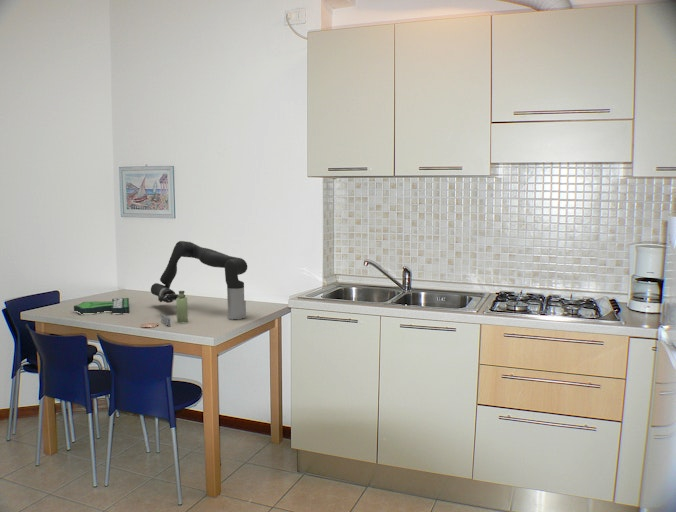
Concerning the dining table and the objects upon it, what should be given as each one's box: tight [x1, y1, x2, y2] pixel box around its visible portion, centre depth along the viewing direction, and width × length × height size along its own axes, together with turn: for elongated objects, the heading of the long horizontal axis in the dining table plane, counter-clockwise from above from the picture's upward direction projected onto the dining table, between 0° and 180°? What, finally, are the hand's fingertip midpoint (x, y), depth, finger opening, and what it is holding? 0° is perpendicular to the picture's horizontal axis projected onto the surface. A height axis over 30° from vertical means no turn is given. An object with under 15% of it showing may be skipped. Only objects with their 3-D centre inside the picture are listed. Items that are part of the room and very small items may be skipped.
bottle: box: [175, 290, 189, 323], centre depth 304 cm, size 6×6×17 cm
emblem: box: [73, 297, 130, 314], centre depth 333 cm, size 30×4×30 cm
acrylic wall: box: [160, 313, 171, 327], centre depth 300 cm, size 1×14×4 cm, turn 32°
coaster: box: [139, 322, 159, 328], centre depth 296 cm, size 9×9×1 cm
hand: (175, 300), depth 314 cm, fingers open, 8 cm apart
